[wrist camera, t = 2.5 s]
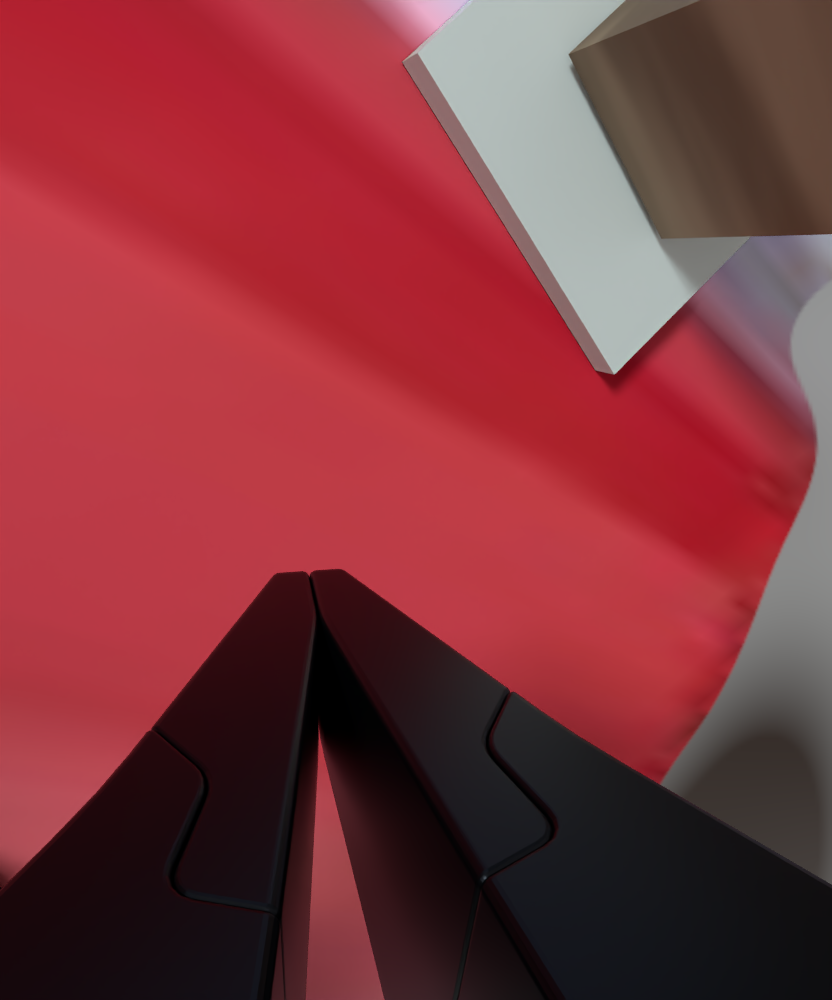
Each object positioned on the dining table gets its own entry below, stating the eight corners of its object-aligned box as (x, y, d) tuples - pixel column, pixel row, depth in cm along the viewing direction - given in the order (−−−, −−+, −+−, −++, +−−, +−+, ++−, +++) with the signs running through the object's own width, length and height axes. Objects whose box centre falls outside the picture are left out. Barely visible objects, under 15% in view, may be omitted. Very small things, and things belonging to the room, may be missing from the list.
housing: (595, 370, 24) (735, 401, 19) (401, 62, 19) (523, -11, 14) (874, 89, 26) (1076, 48, 21) (767, -274, 20) (1004, -455, 15)
